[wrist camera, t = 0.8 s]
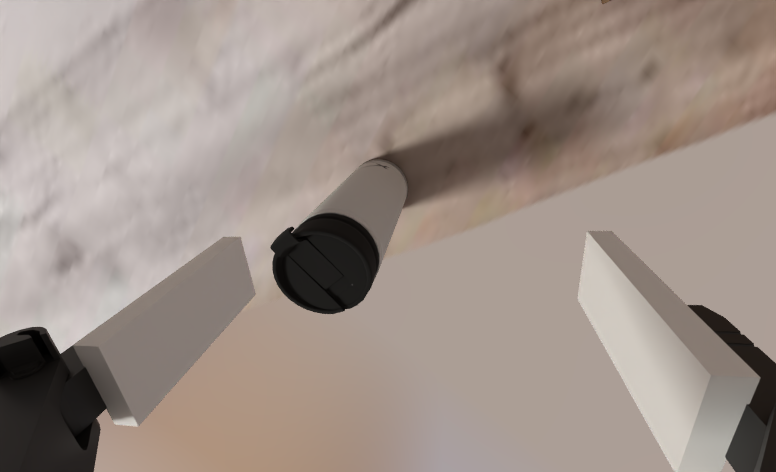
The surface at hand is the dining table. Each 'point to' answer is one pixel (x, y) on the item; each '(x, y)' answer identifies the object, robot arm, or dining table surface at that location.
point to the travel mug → (341, 240)
